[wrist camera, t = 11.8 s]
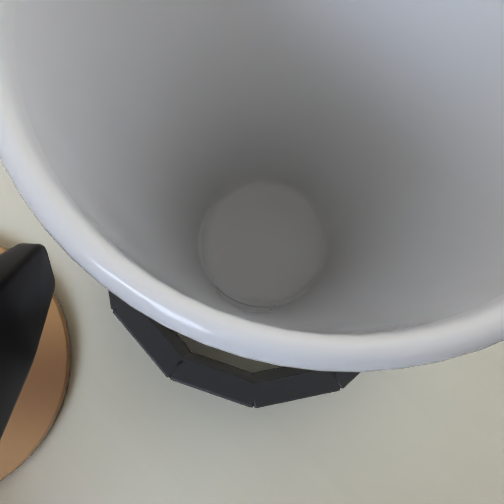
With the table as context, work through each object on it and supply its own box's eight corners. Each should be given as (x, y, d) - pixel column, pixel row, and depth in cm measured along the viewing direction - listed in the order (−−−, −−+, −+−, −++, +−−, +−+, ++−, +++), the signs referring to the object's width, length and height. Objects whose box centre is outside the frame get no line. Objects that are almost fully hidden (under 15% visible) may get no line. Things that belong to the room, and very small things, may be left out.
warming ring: (423, 358, 18) (459, 365, 15) (148, 416, 18) (130, 435, 15) (360, 102, 20) (381, 63, 17) (105, 146, 19) (80, 114, 16)
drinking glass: (263, 370, 18) (379, 589, 3) (141, 252, 19) (-227, -18, 4) (377, 247, 19) (873, -16, 4) (257, 137, 20) (320, -439, 5)
